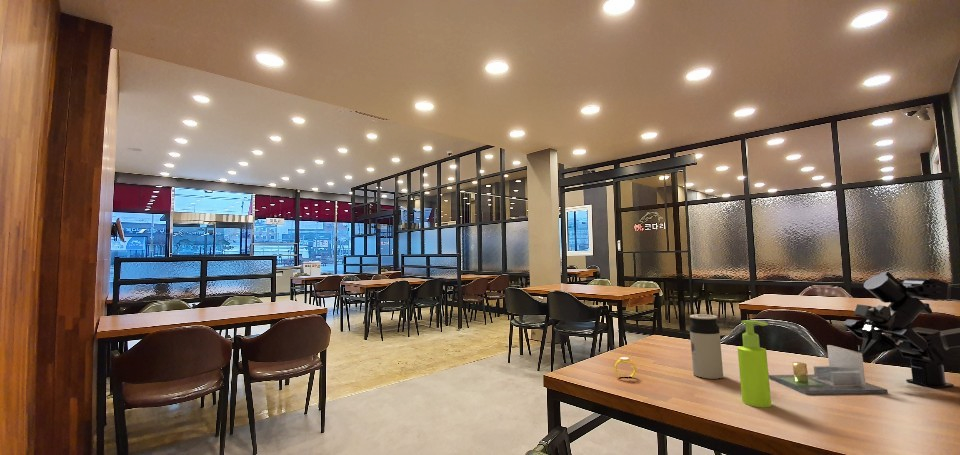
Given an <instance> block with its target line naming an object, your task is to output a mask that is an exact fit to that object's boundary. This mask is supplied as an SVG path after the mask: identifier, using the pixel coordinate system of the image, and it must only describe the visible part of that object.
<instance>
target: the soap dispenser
mask: <svg viewBox="0 0 960 455" xmlns="http://www.w3.org/2000/svg"><path fill="white" fill-rule="evenodd" d="M740 323H741V324H744V325H745V332H743V333H742V334H741V335H742V336H741V337H742V346H737V356H738V367H739V368H738V369H739V379H740V392H741V401H742V403H743V404H745V405H748V406H752V407H755V408H756V407H757V408H770V407H771V406H772V399H771V389H770V379H769V375H770V374H769V367H768V366H769V365H768V354H767V348H763V347H761V346H760V336H759V334H758V333H756V332H755V326H754V325H758V326H761V327H765V326H768V325H769V323H767V322H765V321H761V320H753V319H752V320H751V319H750V320H749V319H745V320H741V322H740Z"/></svg>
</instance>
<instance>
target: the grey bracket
mask: <svg viewBox="0 0 960 455" xmlns="http://www.w3.org/2000/svg"><path fill="white" fill-rule="evenodd" d="M826 347H827V348H826V349H827V359H828V365H820V366H819V365H818V366H816V365H815V366H813V373H814V375H815V378H831V383H832V384H857V385H860V386H866V383H867V382H866V376H865V375H866V374H865V368H864V367H865V366H864V358H863V357H862V353H860V351H856V350H852V349H847V348H843V347H839V346H835V345H831V344H827V345H826ZM865 382H866V383H865Z"/></svg>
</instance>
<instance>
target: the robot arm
mask: <svg viewBox="0 0 960 455" xmlns="http://www.w3.org/2000/svg"><path fill="white" fill-rule="evenodd" d="M863 288H865V289H866V290H867V291H868V292H870V293H871V294H872V295H873V296H874V297H876V299H878V300H879V301H880V302H882V303H886V304H889V305H887V306H886V305H882V304H881V305H880V304H878V305H877V306H872V305H865V304H856V306H855V309H854V313H853V316H856V317H860V318H862V319H864V320H866V321H865V322H864V321H862V320H859V319H858V320H857V319H852V318H851V319H848V318H847V319H846V320H845V321H844V322H843V323H842V326H844V327H845V328H846V329H847V330H849V332H851V333H852V334H853V335H854V336H856V337H857V338H859V339H862V343H861V348H860V351H859V352H860V353H862V357H863V359H867V358H870V357H873V356H876V355H878V354H881V353H885V352H888V351H892V350H896V349H897V350H898V351H899V354H900V356H901V357H902V358H907V359H910V370H911V378H908V379H905V381H906V382H907V383H912V384H915V385H920V386H925V387H930V388H934V389H940V388H947V387H948V388H949V387H954V386H955V385H954V383H950V382H946V376H945V375H946V374H945V368H944V367H945V366H949V365H953V364H954V361H955V356H954V355H953V354H952V353H951V352H949V351H948V350H949V349H951V348H952V349H953V348H958V347H960V327H957V328H950V329H946V330H938V329H932V328H925V327H919V326H917V327H916V326H915V325H914V324H913V322H914V320H915V319H916V318H917V317H918V316H919V315H920V313H921V314H926V315H927V314H929V315H932V314H933V310H932V308H931V306H930V303H926V302H923V301H922V300H934V301H953V302H959V303H960V286H959V287H958V286H954V285H952V284H950V283H949V282H947V281H943V280H942V279H941V280H940V279H937V278H933V277H932V278H929V277H927V278H925V277H907V278H906V279H904V280H903V281H901V282H900V280H898V279H897V278H895V277H894V275H893V274H892V273H891V272H889V271H881V272H880V273H879V274H877V275H874V276H872V277H871V278H868V279H866V280H865V282H863ZM866 323H867V324H866Z"/></svg>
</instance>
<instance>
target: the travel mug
mask: <svg viewBox="0 0 960 455" xmlns="http://www.w3.org/2000/svg"><path fill="white" fill-rule="evenodd" d="M689 318H690V321H691V322H690V325H689V335H690V336H689V337H690V348H691V350H690V351H691V361H692V362H691V363H692V374H693V375H694V376H696V377H697V376H698V377H697V378H700V377H702V378H701V379H705V378H708V379H707V380H719V378H720V379H722V378H724V368H723V357H722V356H723V355H722V346H721V333H720V326H719V325H718V323H717V320H718V316H717V315H715V314H704V313H703V314H701V313H700V314H697V313H696V314H695V313H694V314H691V315H689Z"/></svg>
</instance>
